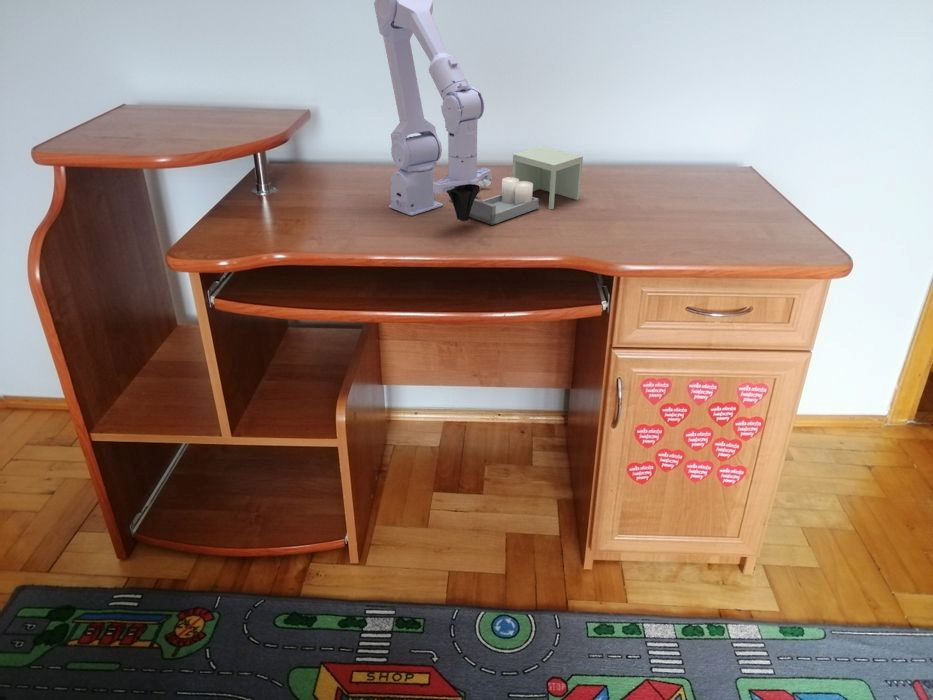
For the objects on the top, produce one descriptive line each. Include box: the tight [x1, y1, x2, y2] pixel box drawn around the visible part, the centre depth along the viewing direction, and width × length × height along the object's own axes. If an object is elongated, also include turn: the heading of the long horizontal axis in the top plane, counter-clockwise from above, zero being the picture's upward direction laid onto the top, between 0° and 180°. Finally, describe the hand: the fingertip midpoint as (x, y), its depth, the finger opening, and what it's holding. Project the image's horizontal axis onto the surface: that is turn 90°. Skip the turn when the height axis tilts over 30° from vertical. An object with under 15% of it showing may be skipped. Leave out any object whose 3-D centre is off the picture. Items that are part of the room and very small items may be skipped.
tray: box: [469, 176, 540, 226], centre depth 152 cm, size 15×8×6 cm, turn 134°
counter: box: [511, 145, 584, 210], centre depth 160 cm, size 10×12×10 cm
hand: (462, 219), depth 146 cm, fingers closed
